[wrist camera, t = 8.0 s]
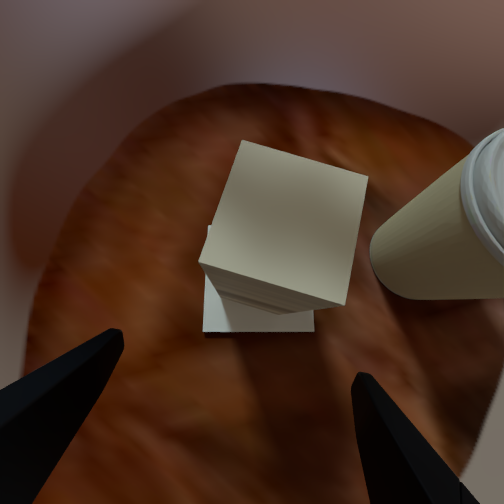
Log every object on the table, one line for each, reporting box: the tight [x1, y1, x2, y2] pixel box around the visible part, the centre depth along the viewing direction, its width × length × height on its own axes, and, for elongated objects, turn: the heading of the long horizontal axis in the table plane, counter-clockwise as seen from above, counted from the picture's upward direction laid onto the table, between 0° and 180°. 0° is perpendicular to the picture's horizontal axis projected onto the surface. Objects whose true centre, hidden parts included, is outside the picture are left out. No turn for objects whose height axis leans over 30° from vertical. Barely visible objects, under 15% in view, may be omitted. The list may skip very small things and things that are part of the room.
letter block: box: [198, 140, 368, 315], centre depth 15 cm, size 5×5×13 cm
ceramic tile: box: [203, 225, 314, 332], centre depth 22 cm, size 9×9×1 cm
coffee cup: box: [370, 128, 504, 300], centre depth 18 cm, size 9×9×12 cm
